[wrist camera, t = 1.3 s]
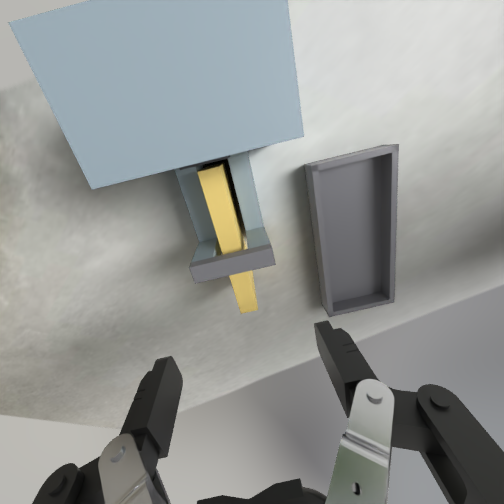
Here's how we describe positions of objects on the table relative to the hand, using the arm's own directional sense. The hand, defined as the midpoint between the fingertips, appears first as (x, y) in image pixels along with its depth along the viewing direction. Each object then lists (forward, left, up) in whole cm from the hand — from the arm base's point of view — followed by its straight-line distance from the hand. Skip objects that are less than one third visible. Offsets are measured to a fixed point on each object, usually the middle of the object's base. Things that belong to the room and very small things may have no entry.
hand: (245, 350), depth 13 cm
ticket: (0, -4, -12) cm, 13 cm away
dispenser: (0, -9, -12) cm, 15 cm away
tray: (-11, 0, -12) cm, 16 cm away
